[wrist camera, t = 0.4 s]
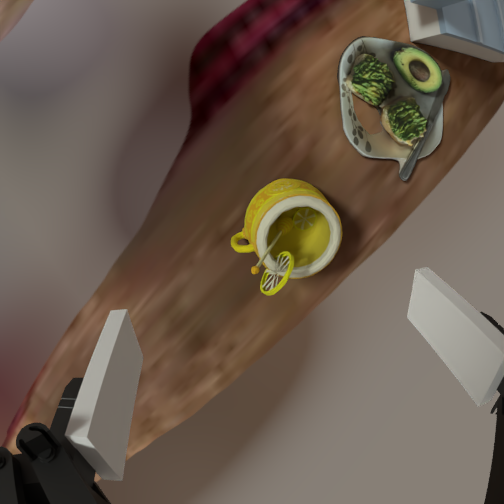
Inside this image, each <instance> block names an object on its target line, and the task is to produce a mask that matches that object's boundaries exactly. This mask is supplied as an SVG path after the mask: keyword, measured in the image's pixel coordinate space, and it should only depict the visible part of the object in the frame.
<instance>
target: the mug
mask: <svg viewBox="0 0 504 504" xmlns="http://www.w3.org/2000/svg"><path fill="white" fill-rule="evenodd" d="M242 238H245V239H246V240H247V239H248V241H249V243H250V244H249V245H238V243H237V242H238V241H239V240H240V239H242ZM341 240H342V226H341V221H340V218H339V216H338V213H337V212H336V211H335V209H334V208H333V207H332V206H331V205H330V203H329V202H328V201H327V199H326V198H325V197H324V195H323V194H322V193H321V192H320V191H319V190H318V189H317V188H315V187H314V186H312V185H311V184H309V183H306V182H304V181H301V180H295V179H278V180H275V181H273V182H272V183H270V184H268V185H267V186H265V187H264V188H262V189H261V190H259V191H258V193H257V194H256V195H255V196H254V197H253V198H252V200H251V202H250V204H249V206H248V208H247V210H246V216H245V226H244V228H243V229H242V232H239V233H237V234H236V235H234V236H233V237H232V238H231V246H232V247H233V248H234V250H235V251H236V252H239V253H246V252H253V251H254V252H255V253H256V254H257V255H258V257H259V259H260V261H259V262H258V264H257V265H256V266H253V267H252V269H251V271H252V274H257V273H259V267H260V266H261V264H263V265H264V266H265V268H267V269H266V270H265V272H264V275H263V277H262V280H261V285H260V289H261V291H262V293H264V294H266V295H267V296H268V295H273V294H275V293H276V292H277V291H279V290H280V289H281V288H282V287H283V286H284V284H285V283H286V282H287V280H288V279H299V278H305V277H309V276H312V275H314V274H316V273H318V272H319V271H321V270H322V269H324V268H325V267H326V266H328V265H329V263H330V262H331V261H332V260H333V258H334V257H335V255H336V253H337V252H338V249H339V247H340V244H341ZM269 274H276V275H277V276H280V277H283V279H282V280H281V281H280V283H279V284H278V285H277V281H276V284H275V288H273V283H274V279H275V278H276V277H277V276H276V277H275V275H274V277H275V278H273V280H272V281H271V282H270V283H269V284H268V285H267V286H266V287H265V284H266V283H267V282H268V281H269V279H270V278H271V277H272V276H273V275H272V276H271V277H270V278H269V279H268V280H267V281H266V279H267V276H268V275H269ZM277 280H278V277H277ZM271 283H272V285H271V288H270V290H269V291H266V289H267V288H268V287H269V285H270V284H271Z"/></svg>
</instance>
